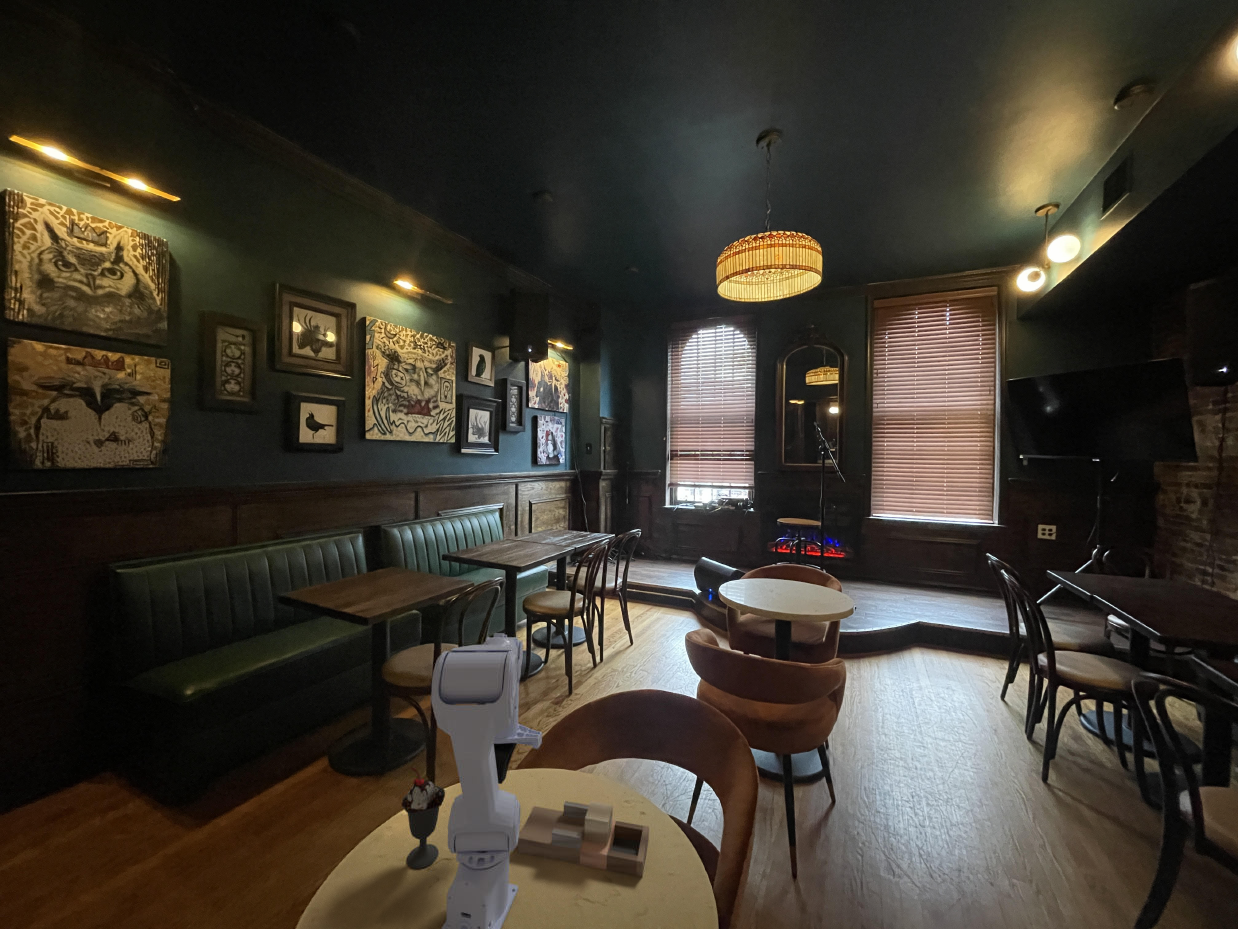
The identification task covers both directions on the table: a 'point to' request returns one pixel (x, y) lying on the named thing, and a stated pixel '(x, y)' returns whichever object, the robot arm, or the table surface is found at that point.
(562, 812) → the wooden stepped tray
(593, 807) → the block
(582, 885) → the table surface
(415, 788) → the sundae
